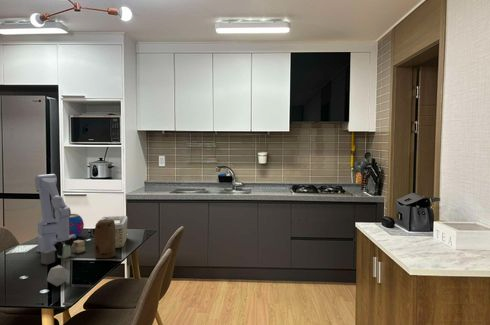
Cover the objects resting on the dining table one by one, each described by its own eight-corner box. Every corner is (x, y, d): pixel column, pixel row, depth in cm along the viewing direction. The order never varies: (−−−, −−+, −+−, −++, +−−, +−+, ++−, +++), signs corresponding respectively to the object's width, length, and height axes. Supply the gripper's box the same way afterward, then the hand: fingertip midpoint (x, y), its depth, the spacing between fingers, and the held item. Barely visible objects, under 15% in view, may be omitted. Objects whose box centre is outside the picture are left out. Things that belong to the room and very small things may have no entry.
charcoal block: (41, 263, 187) (40, 252, 187) (48, 260, 192) (48, 249, 191) (47, 264, 186) (47, 253, 185) (55, 261, 190) (54, 250, 189)
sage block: (57, 257, 197) (57, 246, 196) (64, 255, 201) (64, 244, 200) (63, 258, 195) (63, 247, 195) (70, 255, 199) (70, 245, 199)
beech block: (72, 252, 206) (72, 241, 206) (78, 250, 210) (78, 239, 210) (78, 253, 204) (78, 242, 204) (84, 250, 208) (84, 240, 208)
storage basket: (124, 248, 213) (123, 223, 212) (94, 250, 210) (94, 224, 209) (128, 237, 237) (128, 215, 236) (102, 239, 233) (101, 216, 233)
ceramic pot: (48, 239, 232) (47, 216, 231) (73, 233, 247) (73, 211, 246) (64, 243, 223) (63, 219, 222) (89, 237, 238) (89, 214, 237)
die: (58, 280, 166) (43, 267, 161) (74, 271, 166) (60, 257, 161) (55, 293, 159) (39, 280, 154) (72, 283, 159) (57, 269, 154)
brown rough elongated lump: (116, 254, 202) (115, 218, 201) (114, 258, 195) (113, 221, 194) (95, 255, 200) (94, 219, 199) (93, 259, 193) (92, 222, 191)
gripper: (57, 233, 189) (58, 259, 190) (79, 227, 202) (80, 251, 203) (47, 232, 191) (48, 257, 192) (69, 226, 205) (70, 249, 206)
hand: (64, 254), depth 198 cm, fingers closed on sage block, 4 cm apart
